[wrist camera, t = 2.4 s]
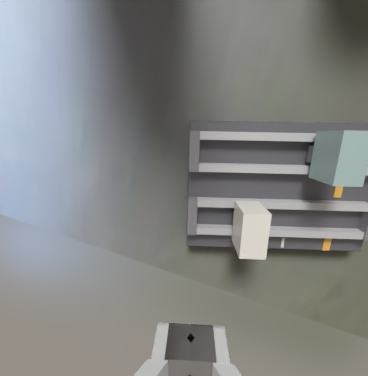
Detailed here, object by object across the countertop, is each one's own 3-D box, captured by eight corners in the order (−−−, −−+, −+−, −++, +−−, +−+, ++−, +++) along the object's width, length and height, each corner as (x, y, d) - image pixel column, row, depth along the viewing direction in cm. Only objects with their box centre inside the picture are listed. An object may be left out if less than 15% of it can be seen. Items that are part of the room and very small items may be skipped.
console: (187, 237, 26) (186, 251, 23) (190, 121, 23) (190, 119, 20) (347, 242, 26) (368, 257, 23) (376, 125, 22) (406, 123, 19)
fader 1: (229, 234, 24) (239, 258, 19) (232, 197, 22) (243, 213, 18) (250, 234, 23) (265, 259, 19) (254, 197, 22) (271, 214, 18)
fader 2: (302, 174, 22) (332, 186, 17) (309, 131, 20) (344, 130, 16) (325, 175, 22) (362, 186, 17) (334, 131, 20) (376, 130, 16)
